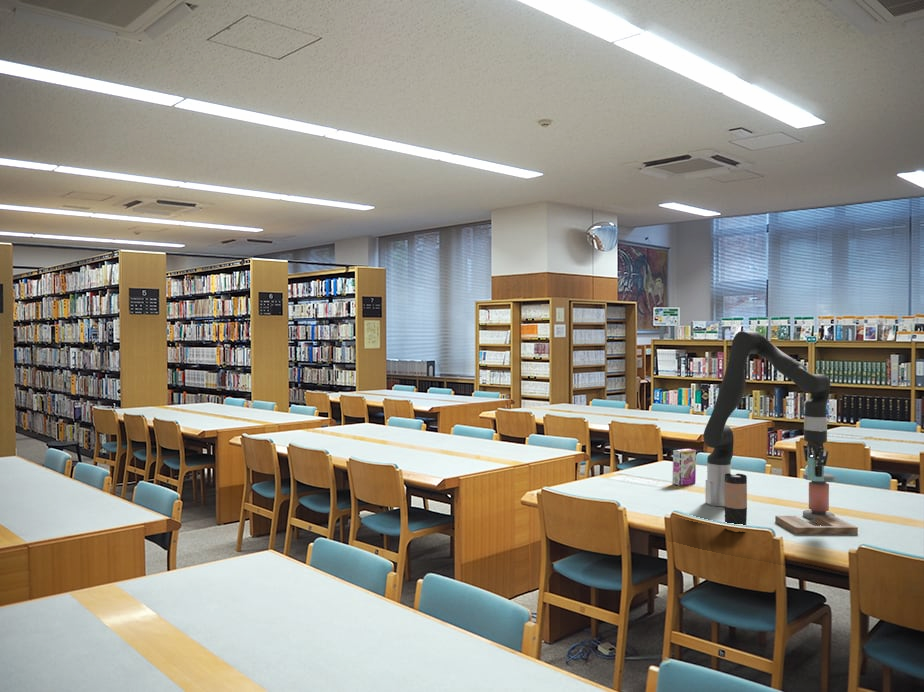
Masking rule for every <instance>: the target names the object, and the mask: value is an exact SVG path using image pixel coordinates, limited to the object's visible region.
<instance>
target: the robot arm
mask: <svg viewBox="0 0 924 692" xmlns="http://www.w3.org/2000/svg"><path fill="white" fill-rule="evenodd" d="M751 354H756V355H758V356H760V357H763V358H764V359H766V360H767V361H768V362H770V364H771V365H772V367H773V368H774V369H775V370H776V371H777V372H778V373H780V374H782V375H783V376H785V378H787V379H789V380H791V381H792V382H793V383H794V385H796V386H797V387H798V388H799V389H800V390H801V391H803V392H805V393H807V394H810V396H809V397H810V398H809V399H808V400H806V401H805V404H804V420H803V441H805V442H807V444H803V446H802V449H803V454H804V455H803V456H804V460H805V462H807V457H813V459H814V460H815V476H816V477H822V466H824V467H825V466H826V465H827V463H828V462H827V461H828V456H829V450H825V447H824V443H827V441H828V421H827V420H828V419H827V403H828V402H829V398H830V391H831V383H830V379H829V378H828V376H826V375H825V374H822V373H817V374H816V373H814V374H812V373H810V372H809V371H808V369H807V367H806V365H804V364H803V363H801V362H800V361H798V360H796V359H795V358H794V357H791V356H789V355H788V354H786V353H785V352H784V351H782V350H780V349H779V347H777V346H776V345H774V344H773V343H772V342H771V341H770V340H768V338H766V337H765V336H764V335H763V334H762V333H760V332H759V331H757V330H741V331H738V332H737V333H736V334H735V335H734V337H733V339H732V341H731V346H730V352H729V357H728V360H727V365H726V369H725V371H724V375H723V378H722V381H721V384H720V386H719V387H720V388H719V391H718V395H717V398H716V400H715V403H714V406H713V410H712V412H711V415H710V417H709V420H708V421H707V424H706V426H705V428H704V431H703V435H702V437H703V442H704V444H705V445H706V446H707V447H708V448H711V449H713V450H712V451H711V453H710V454H708V455H707V461H706V462H707V466H706V467H707V468H706V469H707V470H706V472H707V475H706V476H707V477H706V478H707V479H705V503H706V504H707V505H709V506H711V507H712V506H713V507H724V506H725V505H724V497H725V474H727V473H730V474H731V475H732V473H731V470H732V467H731V465H732V464H731V463H732V459H733V455H734V441H735V440H734V439H735V437H734V433H733V430H732V428H731V427H730V425H729V426H728V425H727V421H728V419H729V417H730V416H731V415H732V414H733V413H734V411H736V408H737V407H738V406H739V405H740V403H741V402H742V400H743V397H744V393H745V391H746V387H747V381H746V374H745V366H746V362H747V359H748V356H749V355H751ZM817 457H819V458H817ZM817 460H818V461H817ZM823 460H824V461H823Z"/></svg>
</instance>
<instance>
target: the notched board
mask: <svg viewBox="0 0 924 692" xmlns="http://www.w3.org/2000/svg"><path fill="white" fill-rule="evenodd" d="M774 517H775V518H774V519H775V522H774V523H776V524H777V523H778V524H777V525H779V526H781V527H782V528H784V529H786V530H787V531H789V532H791V533H792V532H793V533H792V534H794V535H796V534H858V533H859V531H858V529H859V528H858V526H856V525H853V524H851V523H849V522H847V521H845V520H844V519H841V518H840V517H837V516H836V515H835V516H814V520H813V523H814V522H815V523H814V524H816V523H817V524H816V525H814V524H811V523H810V522H808V521H806V520H804V519H803V518H800V517H798V516H796V515H775V516H774ZM818 524H819V525H818ZM820 525H821V526H820Z"/></svg>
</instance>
